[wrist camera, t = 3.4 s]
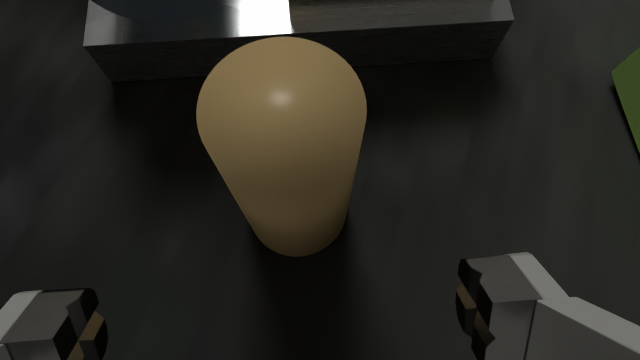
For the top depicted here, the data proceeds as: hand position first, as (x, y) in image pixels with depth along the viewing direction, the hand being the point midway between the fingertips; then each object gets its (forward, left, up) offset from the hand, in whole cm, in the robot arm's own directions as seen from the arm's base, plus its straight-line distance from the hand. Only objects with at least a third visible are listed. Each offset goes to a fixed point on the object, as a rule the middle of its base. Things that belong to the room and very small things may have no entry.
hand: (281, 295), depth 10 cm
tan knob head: (0, -5, -10) cm, 11 cm away
